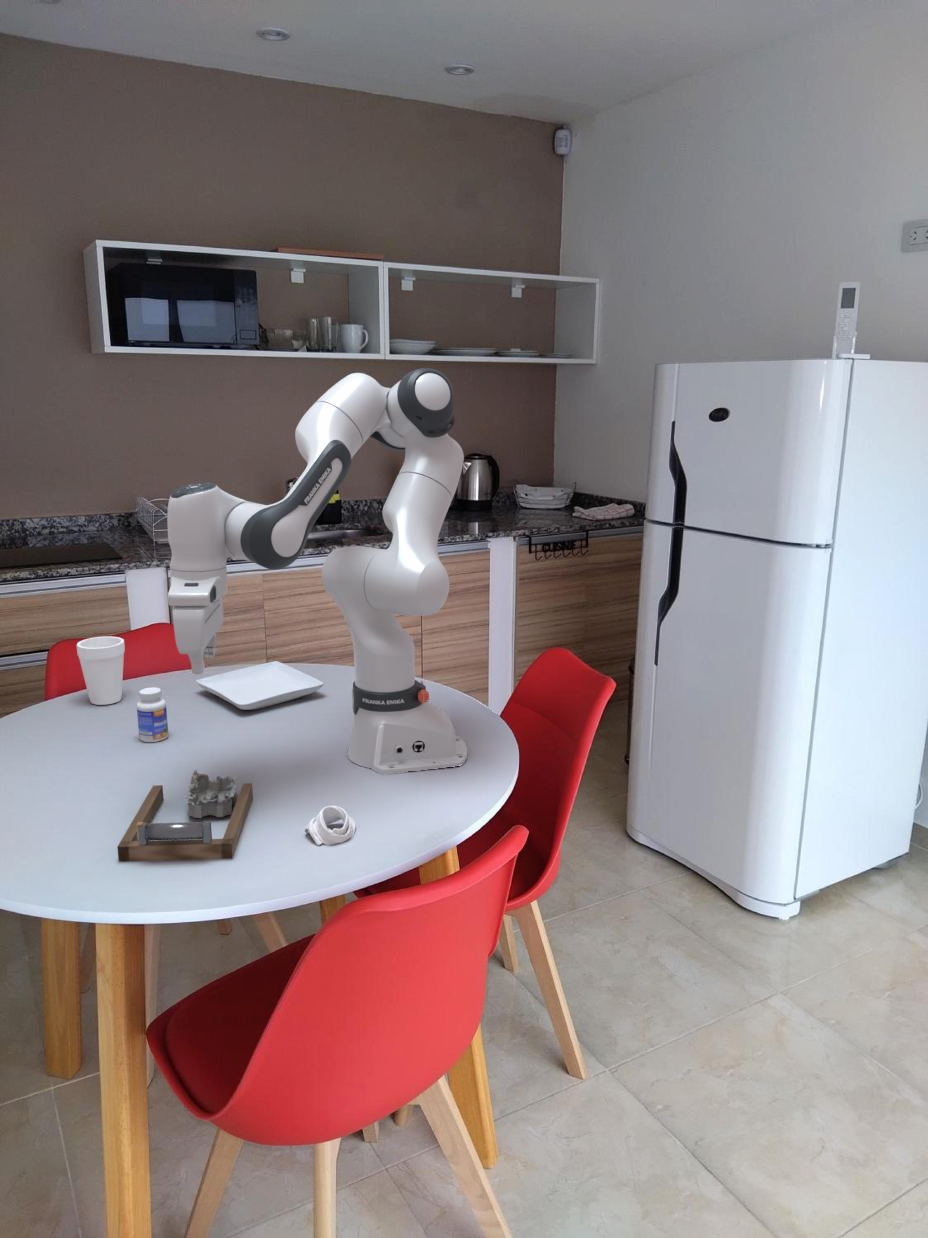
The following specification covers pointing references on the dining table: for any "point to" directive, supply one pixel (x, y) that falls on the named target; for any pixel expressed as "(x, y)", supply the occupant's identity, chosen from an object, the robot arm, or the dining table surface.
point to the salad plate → (260, 685)
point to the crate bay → (183, 848)
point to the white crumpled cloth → (326, 835)
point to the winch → (174, 831)
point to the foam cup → (102, 668)
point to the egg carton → (210, 795)
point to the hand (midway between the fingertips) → (204, 664)
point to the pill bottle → (152, 715)
